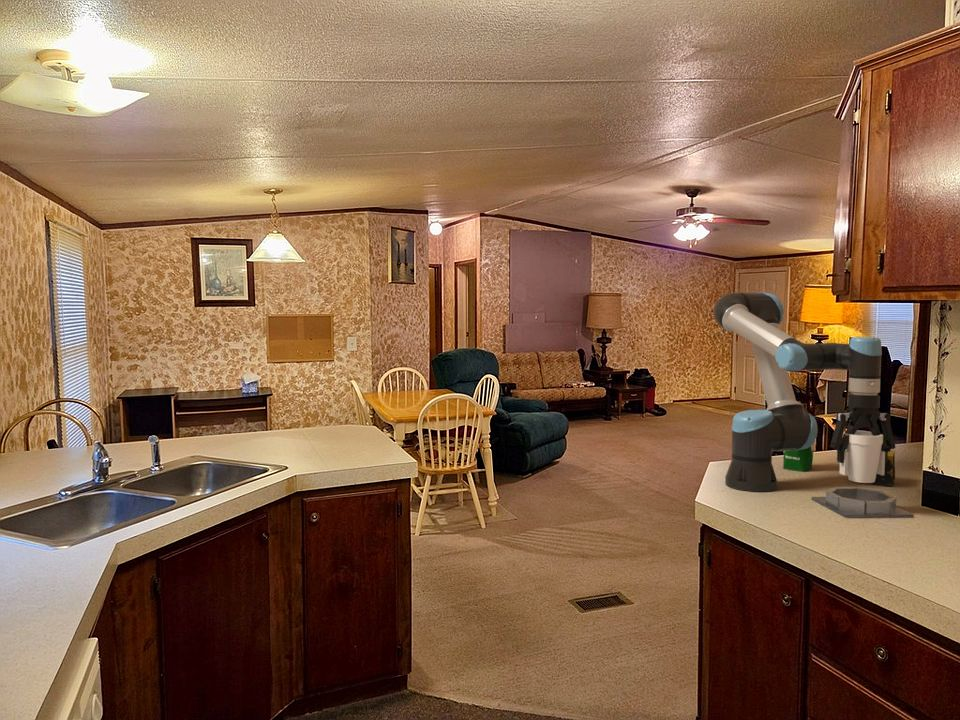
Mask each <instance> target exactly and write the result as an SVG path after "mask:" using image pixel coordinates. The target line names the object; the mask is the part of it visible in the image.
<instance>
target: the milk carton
mask: <svg viewBox="0 0 960 720" xmlns="http://www.w3.org/2000/svg"><path fill="white" fill-rule="evenodd" d="M804 412H806V413H809V411H808V410H804ZM813 459H814V443H813V444H812V445H811V446H810V447H808V448H806V449H801V450H797V451H792V450H790V451H783V461H782V463H783V464H782V465H783V466H782V469H785V470H791V471H795V472H796V471H797V472H803V473H804V472H807V471H810V470H811V469H813Z"/></svg>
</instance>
